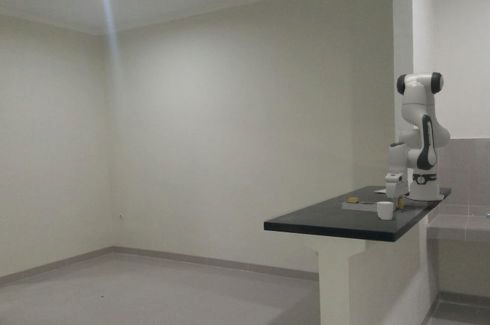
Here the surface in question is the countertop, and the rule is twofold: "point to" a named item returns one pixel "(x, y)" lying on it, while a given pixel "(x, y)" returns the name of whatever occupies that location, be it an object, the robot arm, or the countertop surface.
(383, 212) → the white cup
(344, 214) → the countertop surface
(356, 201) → the nut seated
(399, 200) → the tan yellow block
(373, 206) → the rail
